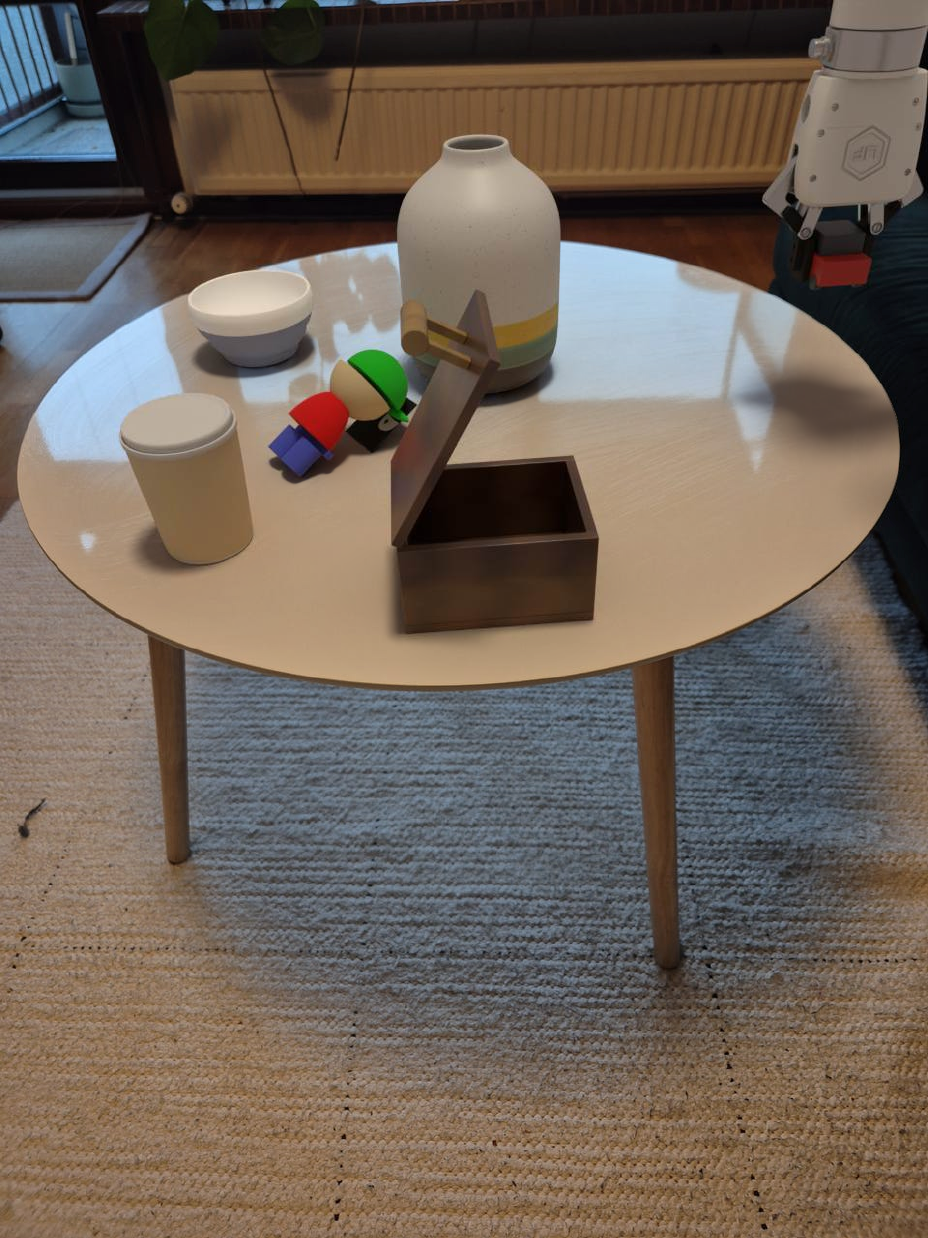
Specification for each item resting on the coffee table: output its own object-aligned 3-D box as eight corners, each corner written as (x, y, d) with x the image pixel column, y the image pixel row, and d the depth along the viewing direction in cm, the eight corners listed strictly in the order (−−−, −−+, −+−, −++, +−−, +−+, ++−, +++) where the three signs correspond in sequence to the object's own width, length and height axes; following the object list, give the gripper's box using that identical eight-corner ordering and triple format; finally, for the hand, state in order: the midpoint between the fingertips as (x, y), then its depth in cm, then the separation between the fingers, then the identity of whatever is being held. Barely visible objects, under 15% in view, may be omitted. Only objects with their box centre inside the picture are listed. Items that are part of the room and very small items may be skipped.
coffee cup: (218, 498, 84) (187, 380, 76) (284, 532, 80) (258, 410, 72) (135, 545, 79) (92, 424, 71) (200, 584, 74) (162, 459, 66)
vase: (516, 332, 110) (516, 113, 94) (583, 387, 98) (595, 148, 82) (388, 360, 105) (365, 136, 90) (442, 422, 94) (426, 175, 78)
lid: (485, 292, 63) (413, 259, 62) (501, 363, 55) (418, 326, 53) (399, 464, 72) (334, 439, 70) (401, 549, 63) (326, 523, 61)
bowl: (218, 330, 115) (204, 270, 110) (329, 327, 114) (320, 267, 109) (187, 381, 104) (170, 318, 99) (310, 378, 103) (299, 314, 98)
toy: (334, 509, 88) (437, 400, 88) (285, 463, 82) (396, 346, 82) (296, 473, 94) (394, 370, 94) (247, 427, 88) (352, 318, 88)
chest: (570, 532, 78) (573, 454, 73) (593, 619, 69) (599, 537, 64) (403, 545, 77) (395, 467, 72) (406, 633, 69) (396, 552, 63)
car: (865, 291, 82) (878, 238, 79) (816, 294, 82) (827, 241, 79) (832, 262, 88) (843, 212, 85) (786, 265, 88) (795, 215, 85)
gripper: (786, 65, 70) (749, 296, 82) (997, 51, 70) (930, 283, 82) (756, 51, 76) (726, 269, 87) (951, 38, 76) (895, 257, 88)
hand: (825, 274), depth 85 cm, fingers closed on car, 4 cm apart
